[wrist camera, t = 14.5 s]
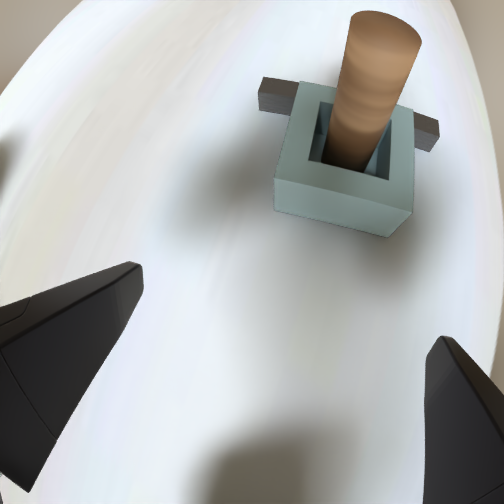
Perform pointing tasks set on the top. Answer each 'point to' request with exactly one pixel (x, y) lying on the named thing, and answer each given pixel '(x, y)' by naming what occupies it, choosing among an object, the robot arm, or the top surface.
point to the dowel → (368, 86)
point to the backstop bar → (283, 96)
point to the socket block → (344, 170)
